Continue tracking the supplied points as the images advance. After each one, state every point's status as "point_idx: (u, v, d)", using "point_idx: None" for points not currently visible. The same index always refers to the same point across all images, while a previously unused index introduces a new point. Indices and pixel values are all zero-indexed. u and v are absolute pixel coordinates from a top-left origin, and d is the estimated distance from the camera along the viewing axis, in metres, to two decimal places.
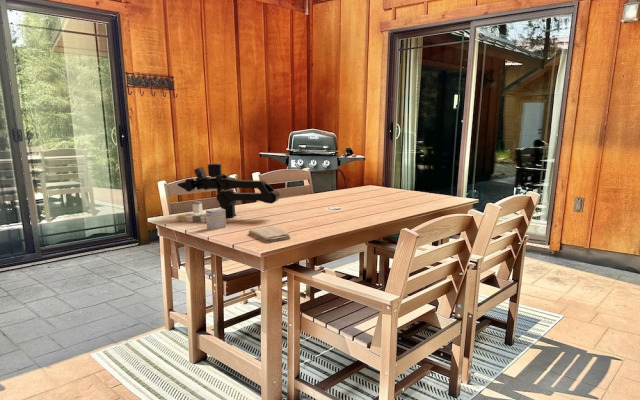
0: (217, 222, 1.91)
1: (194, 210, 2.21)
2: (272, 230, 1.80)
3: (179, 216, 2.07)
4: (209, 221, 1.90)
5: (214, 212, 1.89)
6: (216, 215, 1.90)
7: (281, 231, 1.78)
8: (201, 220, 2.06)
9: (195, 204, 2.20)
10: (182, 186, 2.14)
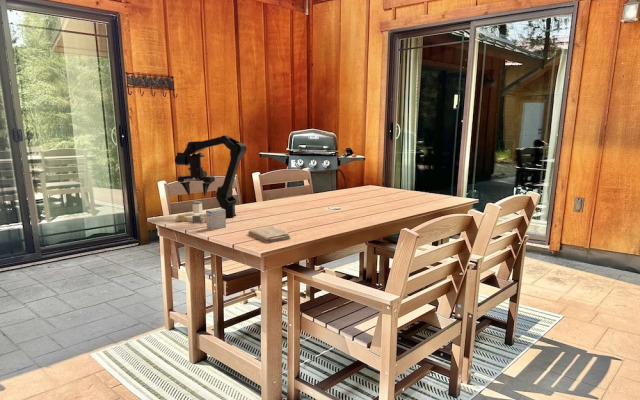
0: (217, 222, 1.91)
1: (194, 210, 2.21)
2: (272, 230, 1.80)
3: (179, 216, 2.07)
4: (209, 222, 1.90)
5: (214, 212, 1.89)
6: (216, 215, 1.90)
7: (281, 231, 1.78)
8: (201, 220, 2.06)
9: (195, 204, 2.20)
10: None
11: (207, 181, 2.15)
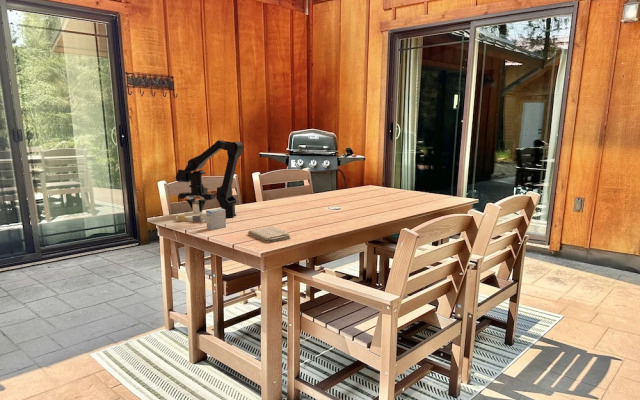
0: (217, 222, 1.91)
1: (194, 210, 2.21)
2: (272, 230, 1.80)
3: (179, 216, 2.07)
4: (209, 222, 1.90)
5: (214, 212, 1.89)
6: (216, 215, 1.90)
7: (281, 231, 1.78)
8: (201, 220, 2.06)
9: (195, 204, 2.20)
10: None
11: (208, 198, 2.16)
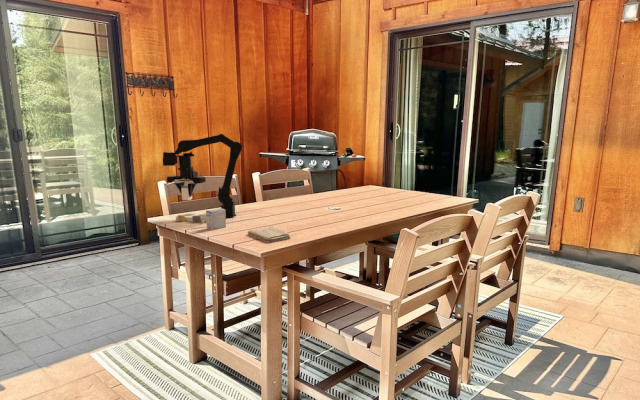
0: (217, 222, 1.91)
1: (183, 194, 2.10)
2: (271, 230, 1.80)
3: (179, 216, 2.07)
4: (209, 222, 1.90)
5: (214, 212, 1.89)
6: (216, 215, 1.90)
7: (281, 231, 1.78)
8: (201, 220, 2.06)
9: (184, 188, 2.09)
10: None
11: (197, 182, 2.05)
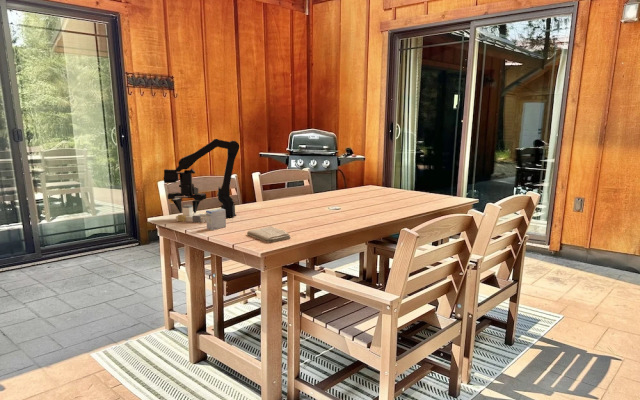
0: (217, 222, 1.91)
1: (184, 214, 2.11)
2: (271, 230, 1.80)
3: (179, 216, 2.07)
4: (209, 222, 1.90)
5: (214, 212, 1.89)
6: (216, 215, 1.90)
7: (281, 231, 1.78)
8: (201, 220, 2.06)
9: (185, 208, 2.10)
10: None
11: (198, 199, 2.07)
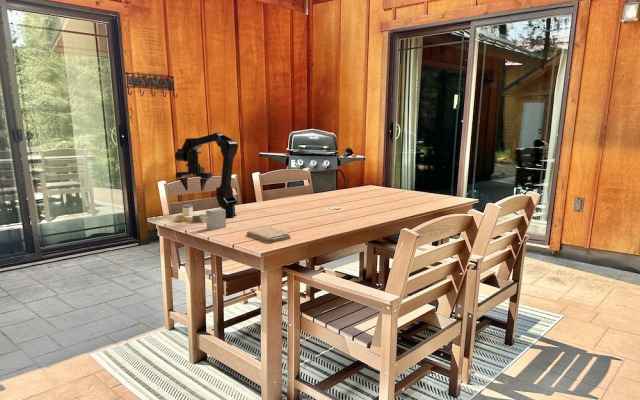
0: (217, 222, 1.91)
1: (184, 214, 2.11)
2: (271, 230, 1.80)
3: (179, 216, 2.07)
4: (209, 222, 1.90)
5: (214, 212, 1.89)
6: (216, 215, 1.90)
7: (280, 231, 1.78)
8: (201, 220, 2.06)
9: (185, 208, 2.10)
10: None
11: (204, 177, 2.20)
